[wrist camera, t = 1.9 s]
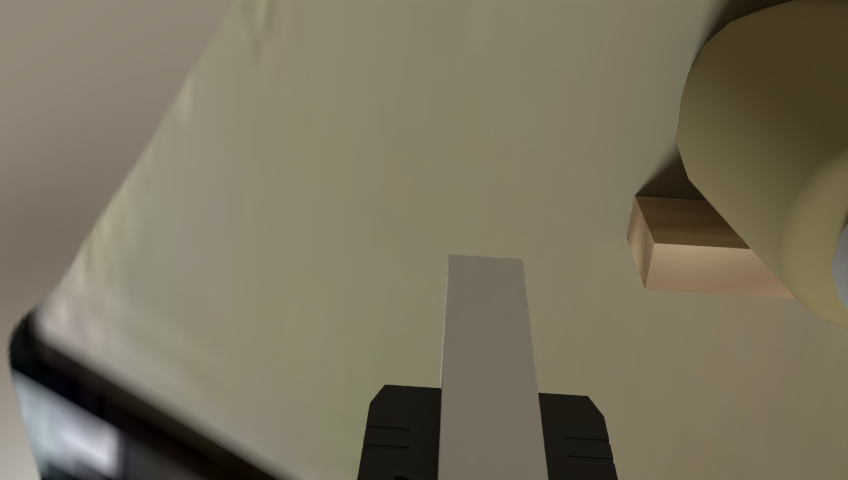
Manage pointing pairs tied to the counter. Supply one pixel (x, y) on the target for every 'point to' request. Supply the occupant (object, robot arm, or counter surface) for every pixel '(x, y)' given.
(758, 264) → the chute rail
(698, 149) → the squeeze bottle
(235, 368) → the counter surface
